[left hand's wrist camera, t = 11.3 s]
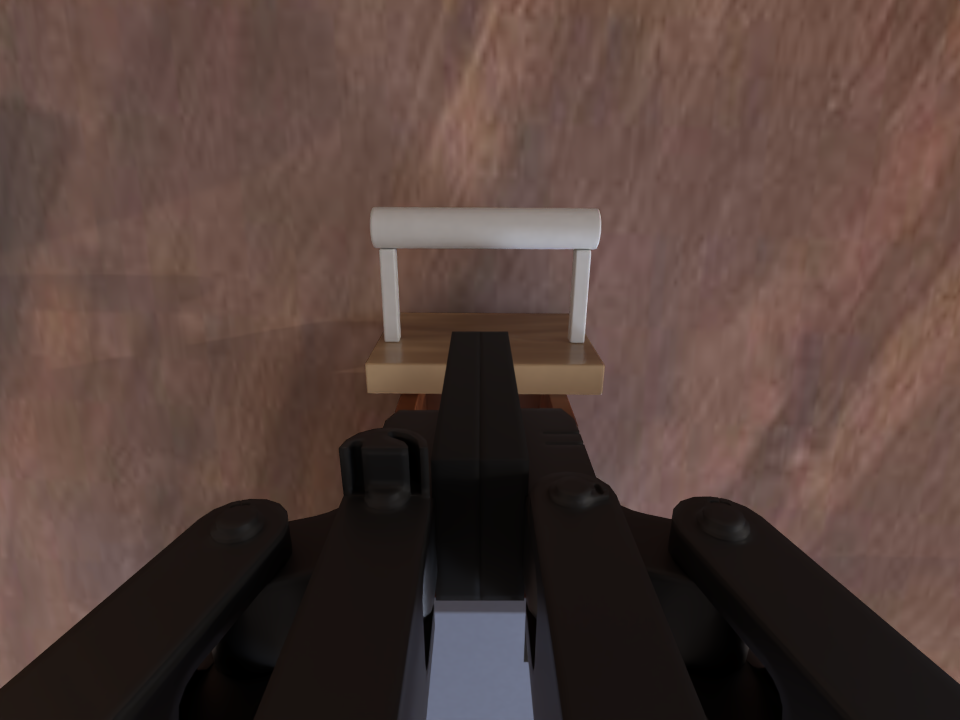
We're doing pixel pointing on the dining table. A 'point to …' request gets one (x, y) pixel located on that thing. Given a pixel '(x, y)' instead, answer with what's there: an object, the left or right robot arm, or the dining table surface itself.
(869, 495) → the dining table surface
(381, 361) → the drawer
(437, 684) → the cabinet
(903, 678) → the left robot arm
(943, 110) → the dining table surface
